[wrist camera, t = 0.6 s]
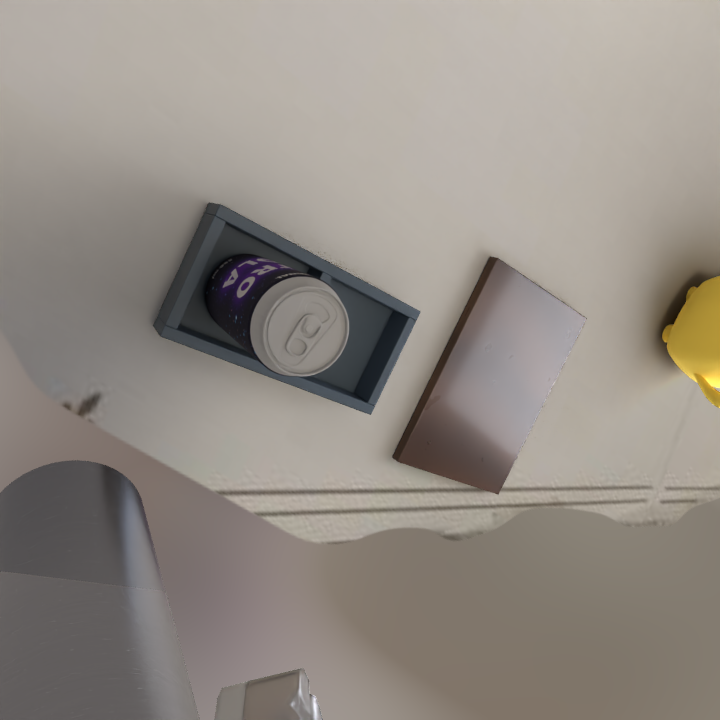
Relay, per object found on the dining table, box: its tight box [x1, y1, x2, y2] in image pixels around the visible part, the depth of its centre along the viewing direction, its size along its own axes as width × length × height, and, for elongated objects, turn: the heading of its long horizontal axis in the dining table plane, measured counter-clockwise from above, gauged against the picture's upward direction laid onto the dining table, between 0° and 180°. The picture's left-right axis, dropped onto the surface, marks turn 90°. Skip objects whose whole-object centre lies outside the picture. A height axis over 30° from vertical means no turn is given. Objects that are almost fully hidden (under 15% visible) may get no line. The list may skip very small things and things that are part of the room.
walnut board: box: [393, 257, 587, 494], centre depth 53 cm, size 20×14×1 cm
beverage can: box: [205, 254, 349, 376], centre depth 34 cm, size 6×6×12 cm
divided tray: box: [153, 203, 420, 415], centre depth 41 cm, size 9×17×3 cm, turn 61°
